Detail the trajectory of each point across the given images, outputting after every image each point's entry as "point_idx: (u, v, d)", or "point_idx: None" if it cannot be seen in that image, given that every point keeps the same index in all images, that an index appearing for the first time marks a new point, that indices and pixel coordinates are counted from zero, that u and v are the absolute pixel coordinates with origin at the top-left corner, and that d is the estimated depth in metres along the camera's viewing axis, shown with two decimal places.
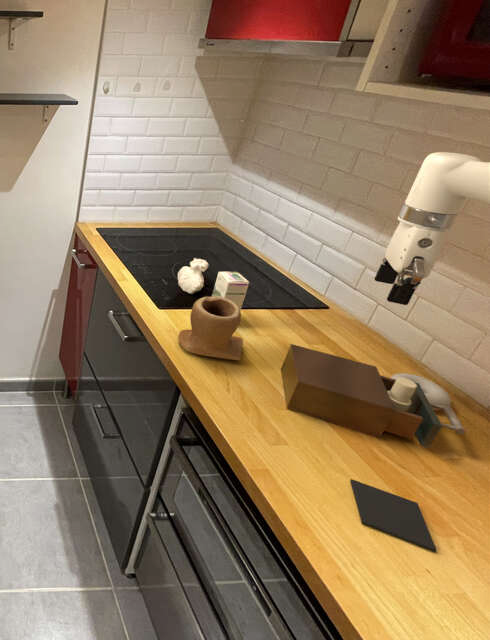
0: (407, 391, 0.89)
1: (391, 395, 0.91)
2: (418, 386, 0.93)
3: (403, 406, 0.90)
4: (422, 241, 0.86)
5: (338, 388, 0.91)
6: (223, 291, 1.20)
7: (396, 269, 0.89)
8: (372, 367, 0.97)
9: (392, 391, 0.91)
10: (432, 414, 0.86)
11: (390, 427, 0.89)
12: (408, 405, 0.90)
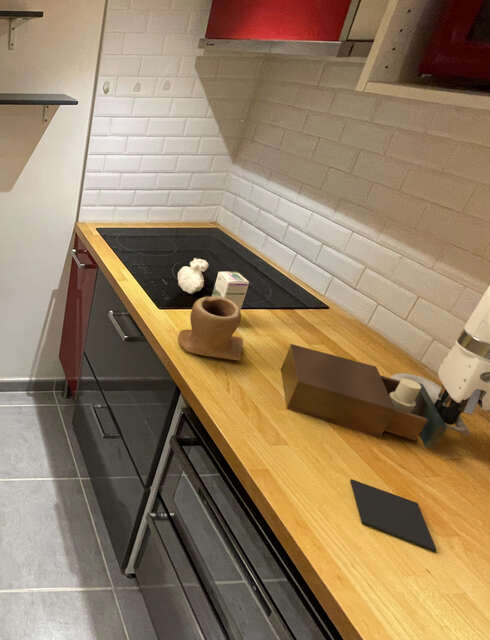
0: (412, 392, 0.89)
1: (395, 396, 0.91)
2: (422, 387, 0.93)
3: (408, 407, 0.89)
4: (485, 374, 0.80)
5: (338, 388, 0.91)
6: (223, 291, 1.20)
7: (454, 398, 0.84)
8: (372, 367, 0.97)
9: (396, 392, 0.91)
10: (436, 416, 0.86)
11: (394, 428, 0.88)
12: (412, 406, 0.89)
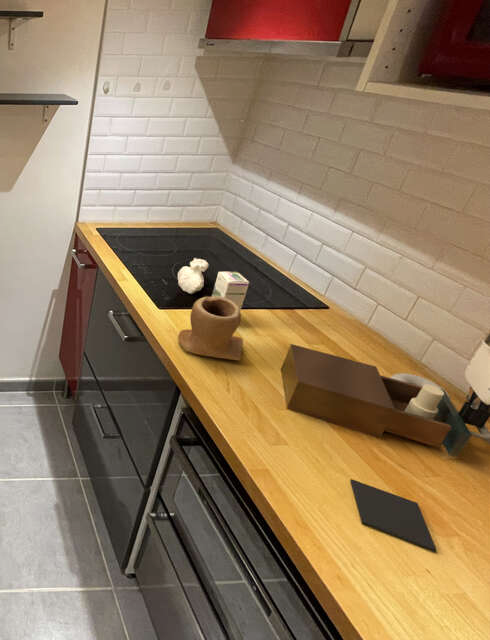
0: (434, 398, 0.87)
1: (417, 402, 0.90)
2: (444, 393, 0.92)
3: (430, 413, 0.88)
4: None
5: (338, 388, 0.91)
6: (223, 291, 1.20)
7: (483, 400, 0.81)
8: (372, 367, 0.97)
9: (418, 398, 0.89)
10: (460, 423, 0.84)
11: (417, 435, 0.87)
12: (435, 413, 0.88)
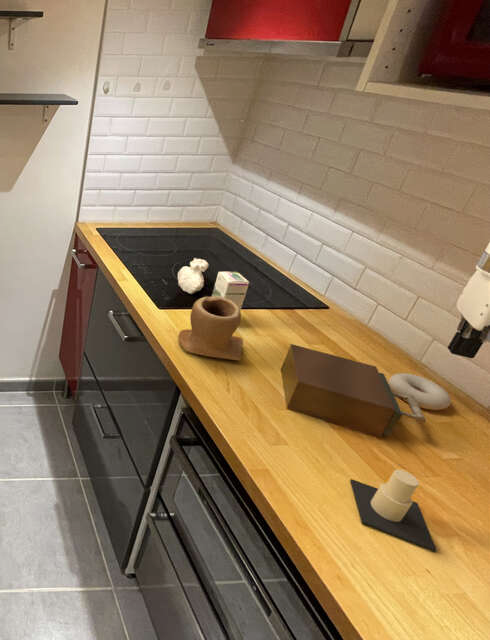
0: (407, 489, 0.71)
1: (387, 491, 0.73)
2: (383, 376, 0.96)
3: (402, 507, 0.71)
4: None
5: (338, 388, 0.91)
6: (223, 291, 1.20)
7: (475, 326, 0.78)
8: (372, 367, 0.97)
9: (388, 486, 0.73)
10: (393, 403, 0.89)
11: None
12: (408, 506, 0.71)
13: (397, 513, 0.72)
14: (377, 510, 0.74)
